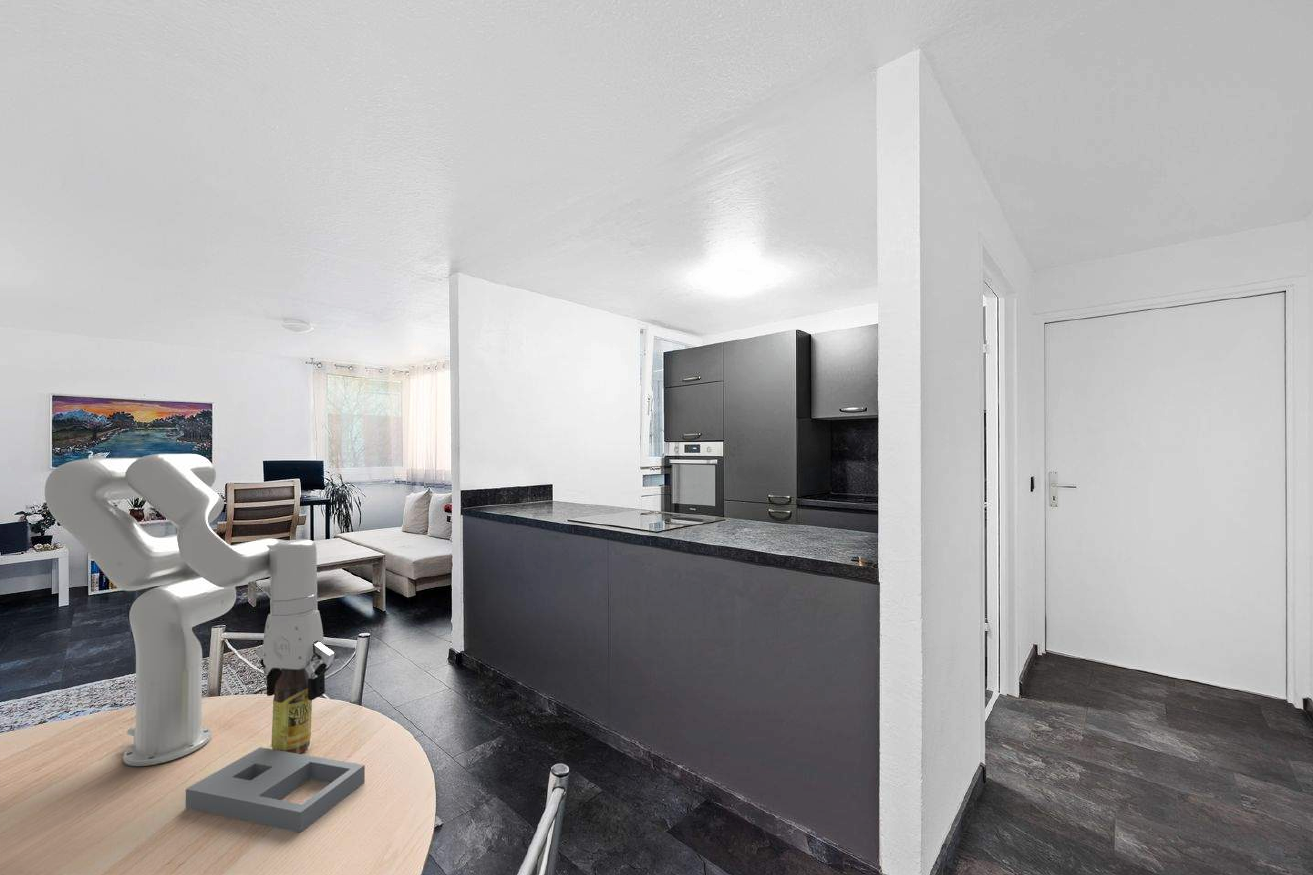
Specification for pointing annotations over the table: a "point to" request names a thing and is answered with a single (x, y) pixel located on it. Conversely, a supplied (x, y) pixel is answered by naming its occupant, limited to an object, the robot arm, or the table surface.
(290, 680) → the sauce bottle
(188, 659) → the robot arm
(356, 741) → the table surface
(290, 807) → the caddy
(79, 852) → the table surface
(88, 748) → the table surface
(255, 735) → the table surface
